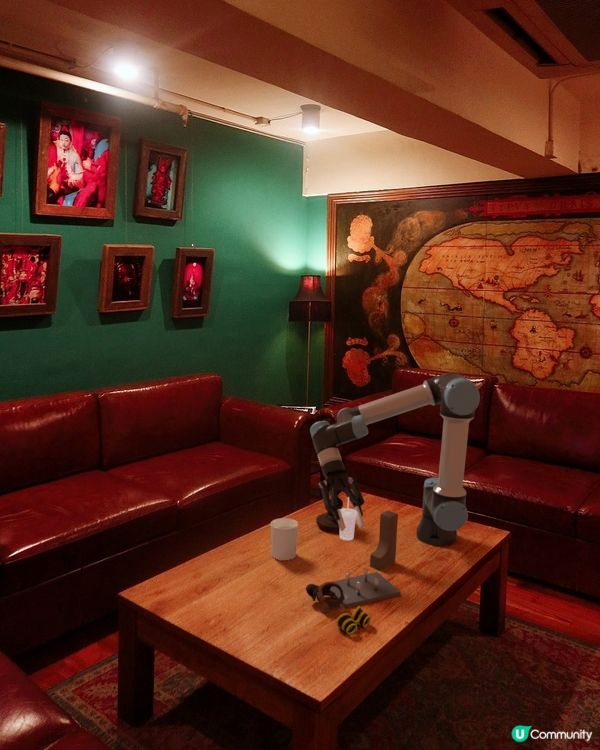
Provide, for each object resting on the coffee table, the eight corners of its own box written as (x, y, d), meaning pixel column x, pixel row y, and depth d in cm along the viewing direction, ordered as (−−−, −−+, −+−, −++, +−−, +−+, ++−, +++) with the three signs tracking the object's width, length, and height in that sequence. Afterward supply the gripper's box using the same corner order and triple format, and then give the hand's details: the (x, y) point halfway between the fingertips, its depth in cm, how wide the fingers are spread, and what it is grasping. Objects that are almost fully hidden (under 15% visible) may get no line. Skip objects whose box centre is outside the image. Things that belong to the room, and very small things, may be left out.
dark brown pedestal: (317, 517, 265) (319, 470, 262) (353, 519, 264) (356, 472, 260) (314, 532, 251) (316, 482, 247) (353, 535, 249) (355, 485, 246)
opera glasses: (347, 639, 183) (350, 625, 182) (334, 628, 187) (337, 613, 185) (370, 627, 189) (373, 613, 188) (357, 616, 193) (361, 602, 191)
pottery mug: (343, 598, 204) (348, 583, 199) (336, 624, 197) (342, 610, 192) (306, 585, 206) (311, 570, 200) (298, 611, 198) (303, 596, 193)
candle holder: (265, 558, 228) (265, 526, 226) (276, 547, 237) (277, 516, 235) (291, 564, 225) (291, 531, 222) (301, 552, 234) (302, 520, 231)
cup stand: (376, 575, 218) (377, 560, 218) (400, 595, 206) (401, 579, 205) (323, 586, 210) (324, 571, 209) (344, 608, 198) (345, 592, 197)
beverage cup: (336, 533, 219) (338, 493, 216) (354, 533, 219) (356, 493, 216) (338, 541, 213) (340, 500, 210) (356, 541, 213) (359, 500, 210)
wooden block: (379, 570, 222) (382, 520, 218) (369, 566, 225) (371, 516, 221) (395, 562, 228) (398, 513, 225) (385, 558, 231) (388, 509, 228)
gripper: (352, 466, 230) (373, 527, 218) (302, 472, 222) (322, 536, 211) (360, 455, 224) (382, 519, 213) (309, 461, 216) (330, 527, 205)
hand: (352, 527), depth 212 cm, fingers closed on beverage cup, 6 cm apart
